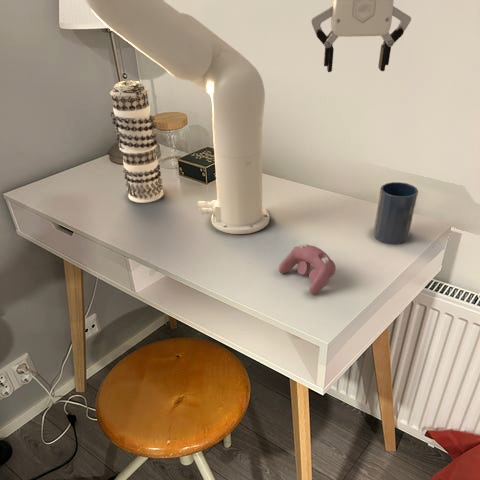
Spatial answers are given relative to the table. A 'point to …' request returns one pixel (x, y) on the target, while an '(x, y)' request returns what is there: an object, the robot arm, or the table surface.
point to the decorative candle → (136, 141)
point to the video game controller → (308, 256)
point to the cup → (395, 212)
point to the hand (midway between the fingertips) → (355, 70)
